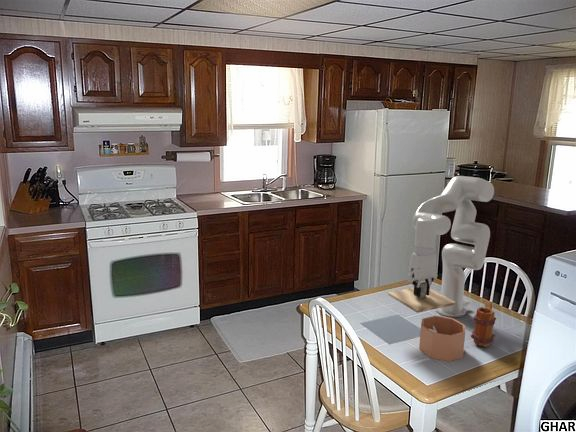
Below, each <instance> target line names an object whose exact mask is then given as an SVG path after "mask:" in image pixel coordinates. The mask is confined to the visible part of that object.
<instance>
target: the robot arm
mask: <svg viewBox="0 0 576 432" xmlns="http://www.w3.org/2000/svg"><path fill="white" fill-rule="evenodd" d="M494 194H495V187H494V185H493V183H492V182H490V181H488V180H486V179H484V178H482V177H481V178H480V177H474V176H464V175H456V176H453V177H452V178H451V179H450V180H449V181H448V184H446V186H445V188H444V189H443V190H442V192H441V194H440V195H437V196H435V197H432V198H430V199H428V200H426V201H424V202H423V203H421V204H420V206H418V208H417V209H416V212H415V213H414V214H413V217H412V221H411V225H412V228H414V230H415V234H414V235H415V237H414V247H413V248H414V250H413V252H412V254H411V257H410V261H409V265H408V266H409V267H408V277H407V280H406V281H407V282H409V283H411V284H412V286H413V288H414V295H415V296H417V297H420V293H421V288H420V282H421V281H424V282H427V290H426V295H427V296H428V295H429V290H430V289H431V286H432V282H434V280H435V279H437V277H438V273H437V254H436V250H437V245H436V242H437V236H441V235H442V236H443V235H445V234H447V233H448V232H449V231H450V230H451V231H450V237H451V239H452V240H454V241H455V242H458V243H459V242H460V243H465V244H470V245H473V246H469V245H468V246H467V245H463V244H460V243H459V244H458V243H447V244H445V245H444V246H443V248H442V250H441V261H442V276H441V287H440V288H441V291H440V294H441V295H443V296H445V297H447V298H449V299H451V300H452V301H454V302H456V305H451V306H447V307H442V308H437V309H435V310H436V312H437V313H439V315H442V316H443V317H448V318H462V317H463V316H465V315H466V309H465V307H466V306H470V305H471V301H469V300H467V301H464V293H465V281H466V275H465V272H464V269H469V270H473V271H479V270H481V269H482V268H483V266H484V263H485V259H486V256H487V251H488V247H489V242H490V238H491V230H490V227H489V226H488V225H487V224H485V223H481V222H476V216H477V209H476V206H475V205H474V203H473V202H472V201H476V202H483V203H484V202H485V203H488V202H490V201H491V200H492V198H493V197H494ZM453 211H455V214H454V217H453V223H452V221H451V219H450V218H449V217H448V216H446V215H444V214H445V213H449V212H453ZM443 213H444V214H443Z"/></svg>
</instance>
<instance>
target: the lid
mask: <svg viewBox="0 0 576 432" xmlns="http://www.w3.org/2000/svg"><path fill="white" fill-rule="evenodd" d="M420 288H421V293H420V297H417V296H415V295H414V287H409V288H405V289H404V288H403V289H400V290H394V291H389V292H387V295H388V297H389V296H390V297H391V298H393V299H394V300H396V301H397V302H399V303H401V304H402V305H404V306H405V307H406V308H409V309H410V310H412V311H413V312H415V313H417V314H418V313H422V312H427V311H433V310H436V309H437V308H442V307H447V306H451V305H456V302H454V301H452V300H451V299H449V298H447V297H445V296H443V295H441V293H439V292H437V291H435V290H433V289H431V288H430V290H429V295H428V296H427V295H426V290H427V282H424V280H421V282H420Z"/></svg>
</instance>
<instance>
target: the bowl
mask: <svg viewBox="0 0 576 432" xmlns="http://www.w3.org/2000/svg"><path fill="white" fill-rule="evenodd" d="M433 326H434V327H435V328H436V331H437V333H434V332H432V331H431V330H429V329H432V330H434V328H433ZM420 329H421V331H420V337H419V347H418V349H419V350H420V351H422V352H423V353H424V354H426V355H427V356H429V358H430V359H434V360H440V361H445V362H451V361H455V360H459V359H462V358H464V350H465V348H464V347H465V337H466V324H465V323H462V322H460V321H459V320H456V319H454V317H448V316H441V315H433V316H428V317H424V318H423V317H422V318H421V325H420Z"/></svg>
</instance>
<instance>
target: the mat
mask: <svg viewBox="0 0 576 432" xmlns="http://www.w3.org/2000/svg"><path fill="white" fill-rule="evenodd" d="M360 325H362V326H363V327H365V328H366V329H367V330H369V331H370V332H371V333H373V334H374V335H375V336H377V337H378V338H379V339H381V340H382V341H384V342H385V343H387V344H388V345H392V344H397V343H400V342H405V341H407V340H411V339H415V338H420V331H421V327H419V326H417V325H415V323H413V322H411V321H409V320H408V319H406V318H405V317H403V316H402V315H400V314H395V315H394V314H393V315H390V316H386V317H380V318H377V319H372V320H368V321H364V322H360Z"/></svg>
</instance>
